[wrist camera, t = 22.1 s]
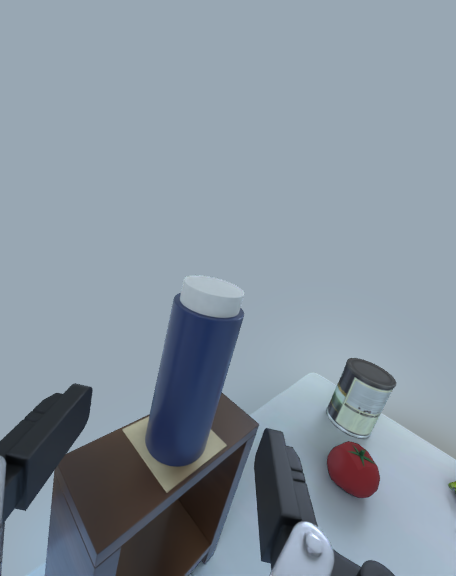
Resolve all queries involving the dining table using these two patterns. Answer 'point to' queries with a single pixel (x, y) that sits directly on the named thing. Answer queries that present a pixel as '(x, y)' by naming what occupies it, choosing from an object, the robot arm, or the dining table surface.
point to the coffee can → (360, 397)
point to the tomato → (353, 469)
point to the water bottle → (193, 368)
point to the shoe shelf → (145, 502)
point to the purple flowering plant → (452, 486)
